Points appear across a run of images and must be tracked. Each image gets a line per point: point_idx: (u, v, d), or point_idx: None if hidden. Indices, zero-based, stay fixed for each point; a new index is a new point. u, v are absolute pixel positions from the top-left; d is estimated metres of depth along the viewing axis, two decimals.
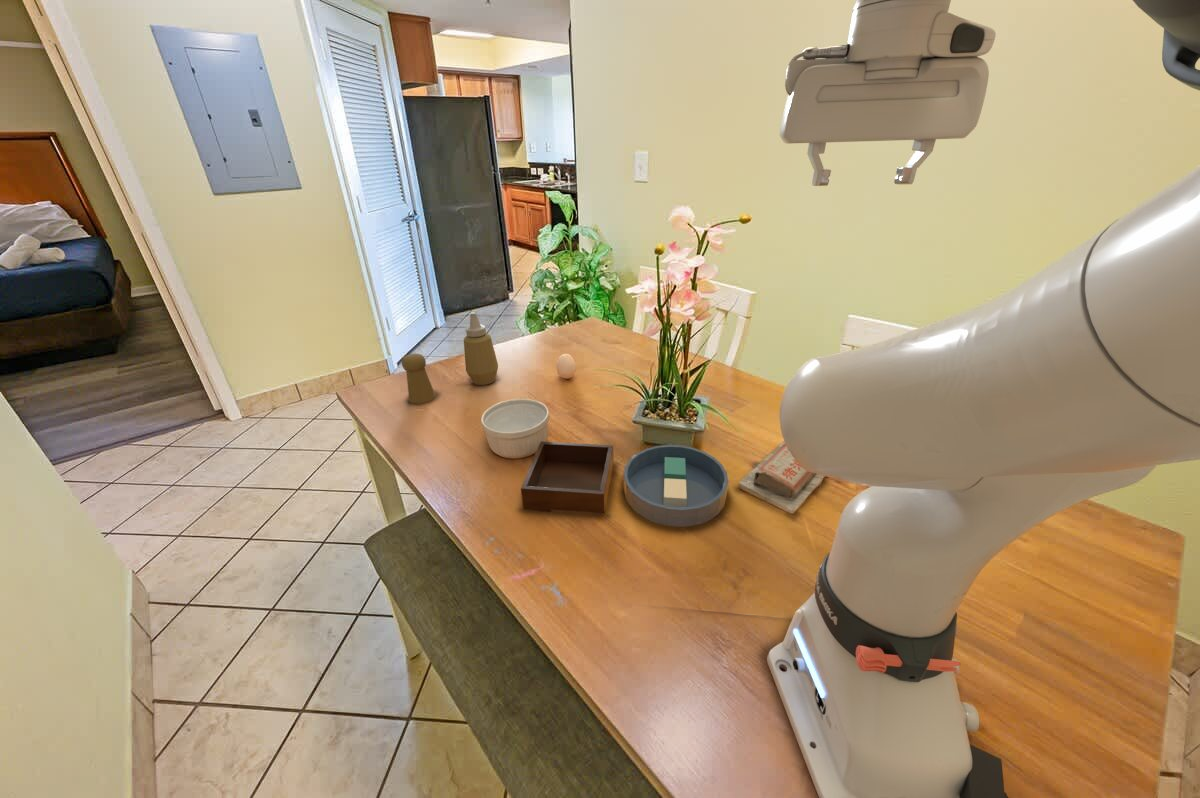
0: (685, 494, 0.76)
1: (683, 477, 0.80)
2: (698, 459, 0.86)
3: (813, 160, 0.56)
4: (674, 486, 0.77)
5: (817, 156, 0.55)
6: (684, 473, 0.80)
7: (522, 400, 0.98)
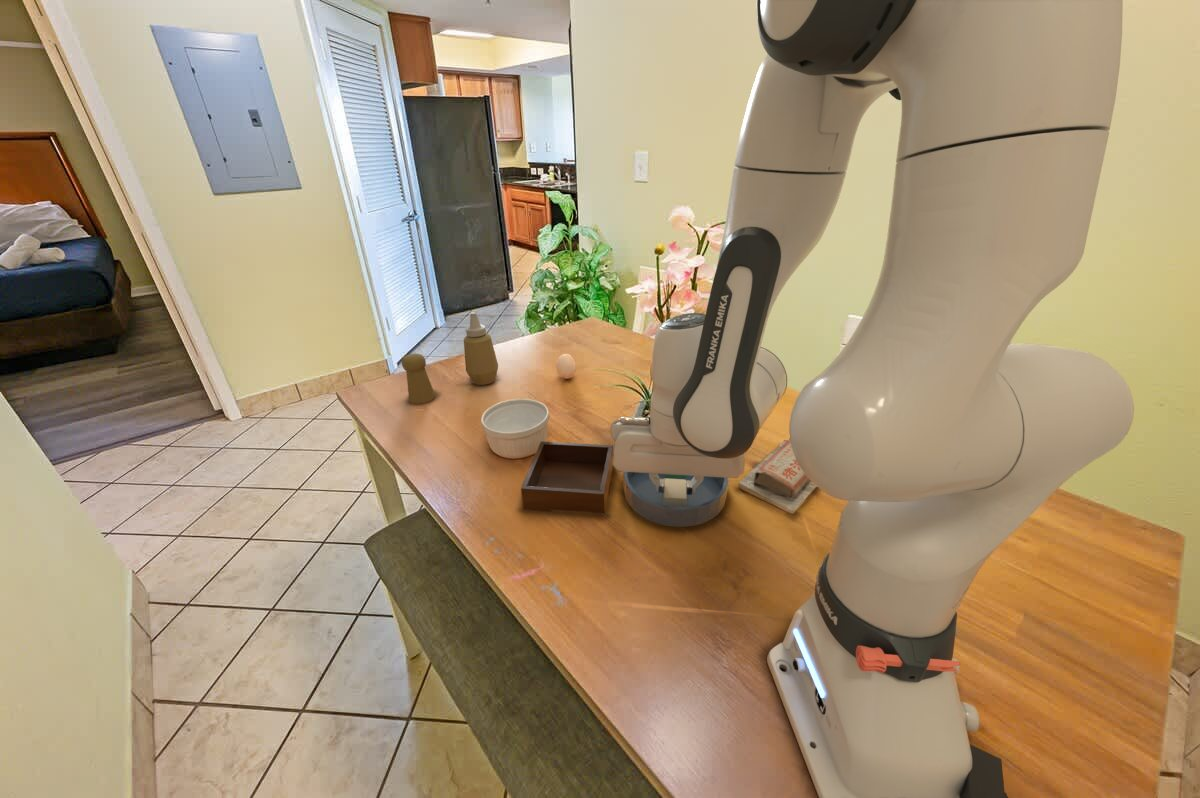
0: (685, 494, 0.76)
1: (683, 477, 0.80)
2: None
3: None
4: (674, 486, 0.77)
5: (653, 478, 0.76)
6: None
7: (522, 400, 0.98)
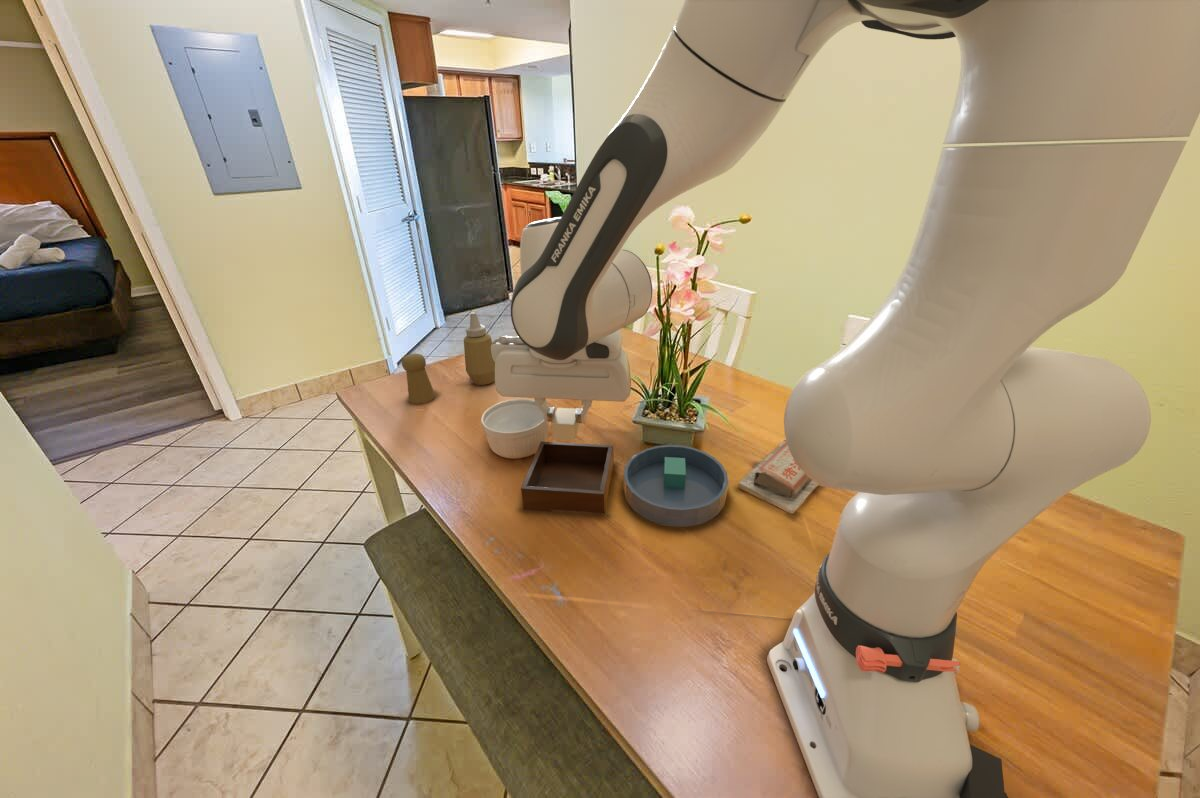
0: (573, 421, 0.72)
1: (683, 477, 0.80)
2: (698, 459, 0.86)
3: None
4: (564, 414, 0.74)
5: (539, 404, 0.72)
6: (684, 473, 0.80)
7: (522, 400, 0.98)
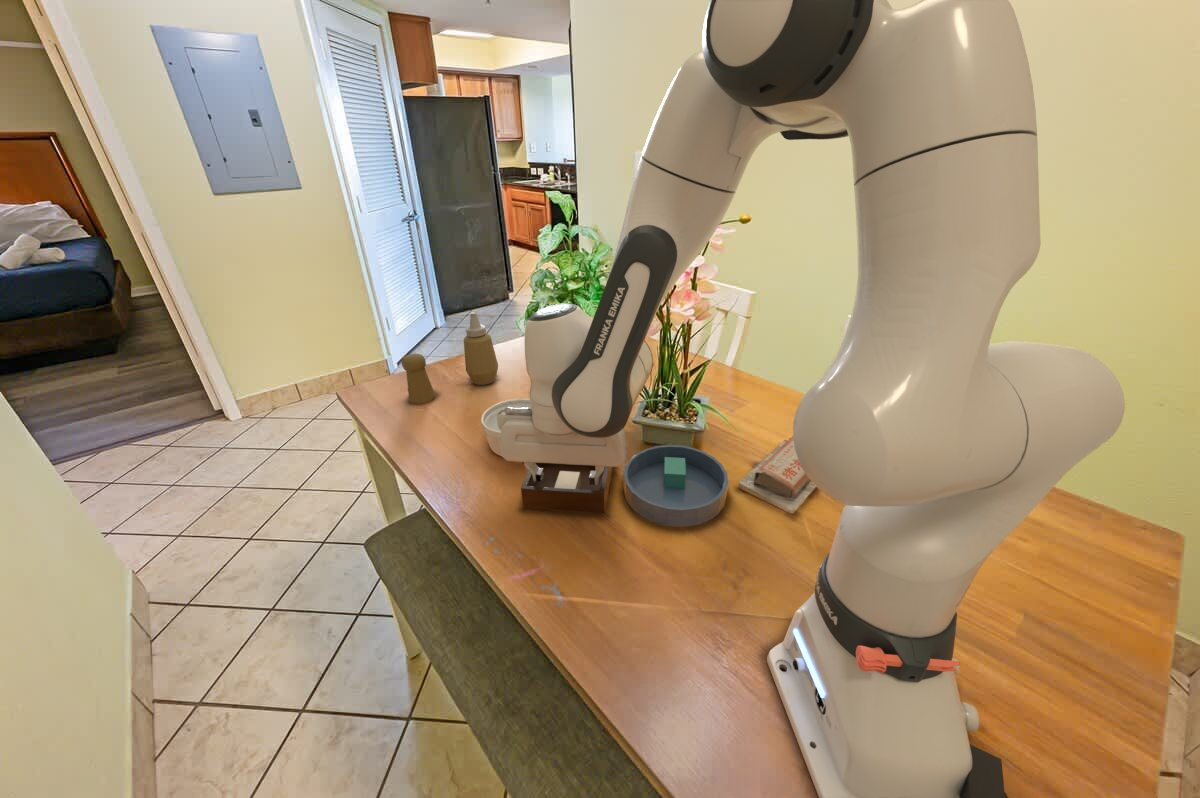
0: (575, 486, 0.78)
1: (683, 477, 0.80)
2: (698, 459, 0.86)
3: None
4: (566, 478, 0.80)
5: (528, 467, 0.77)
6: (684, 473, 0.80)
7: (522, 400, 0.98)
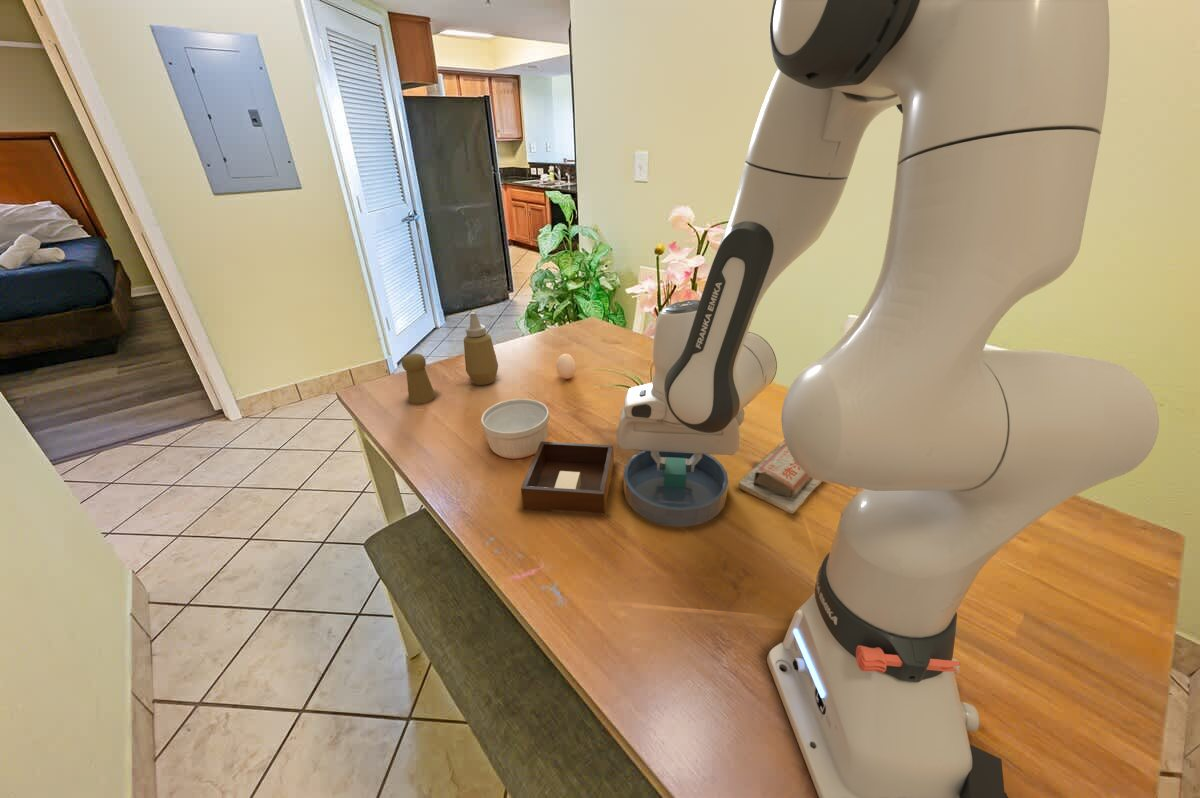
0: (575, 486, 0.78)
1: (683, 477, 0.80)
2: None
3: None
4: (566, 478, 0.80)
5: None
6: (684, 473, 0.80)
7: (522, 400, 0.98)
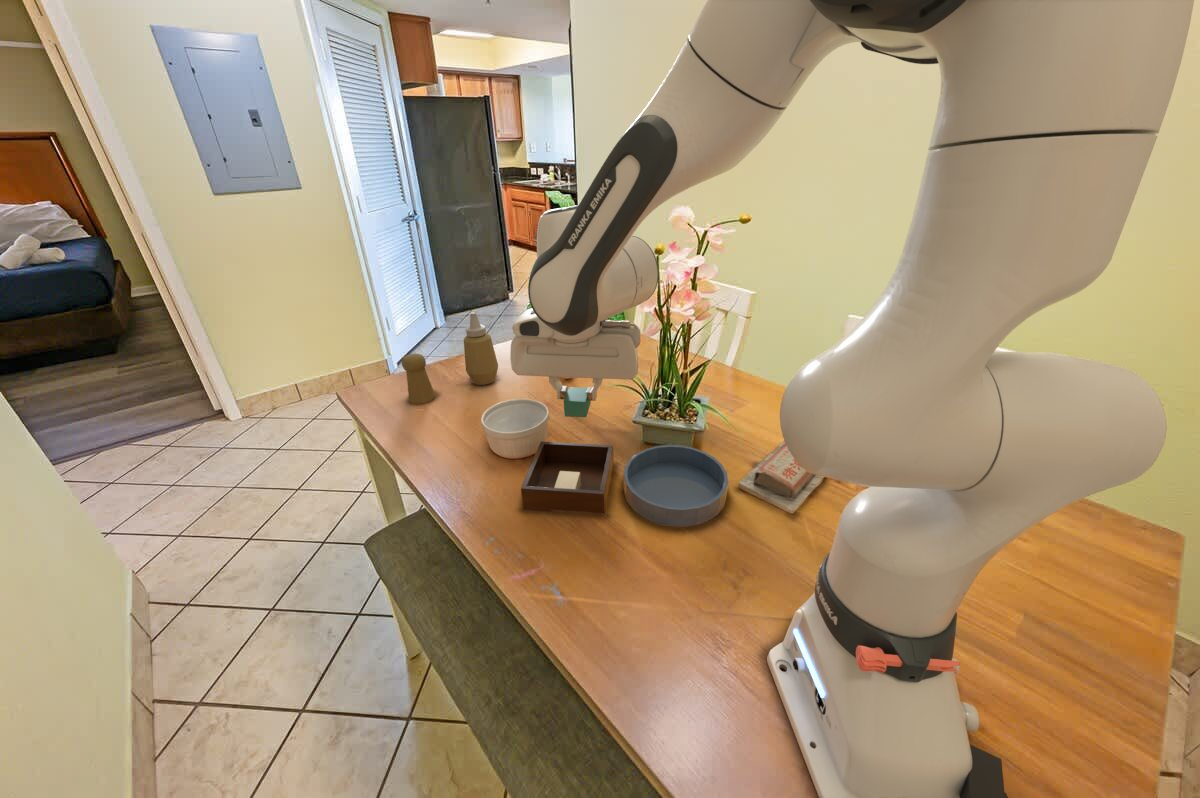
0: (575, 486, 0.78)
1: (583, 404, 0.76)
2: (698, 459, 0.86)
3: None
4: (566, 478, 0.80)
5: None
6: (584, 400, 0.76)
7: (522, 400, 0.98)
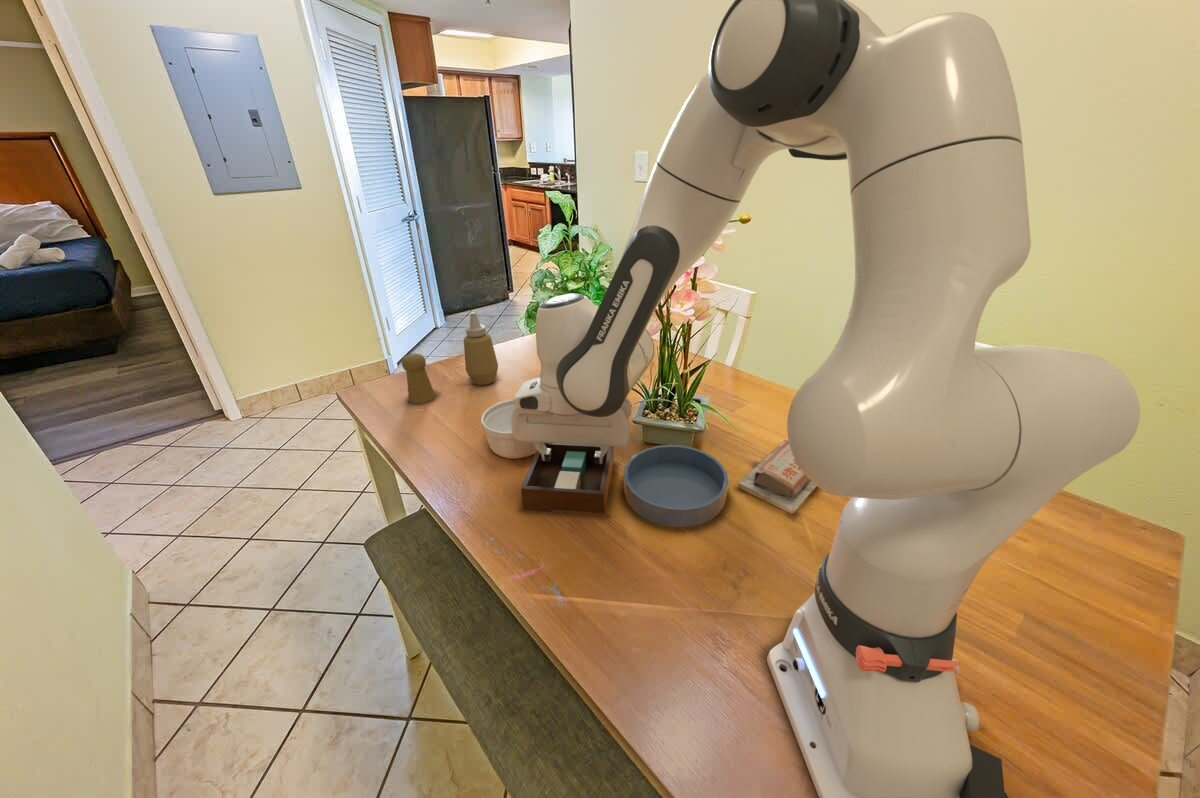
0: (575, 486, 0.78)
1: (579, 470, 0.83)
2: (698, 459, 0.86)
3: None
4: (566, 478, 0.80)
5: None
6: (580, 466, 0.83)
7: None
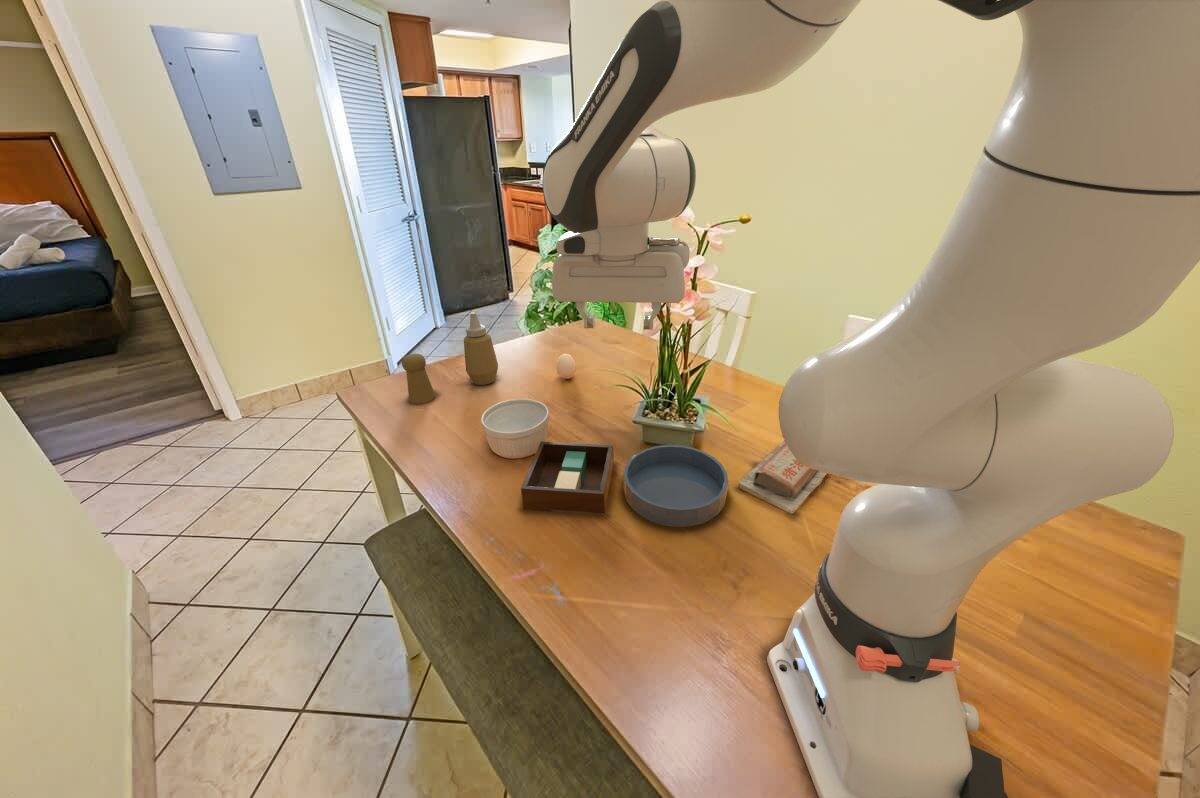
0: (575, 486, 0.78)
1: (579, 470, 0.83)
2: (698, 459, 0.86)
3: None
4: (566, 478, 0.80)
5: None
6: (580, 466, 0.83)
7: (522, 400, 0.98)
